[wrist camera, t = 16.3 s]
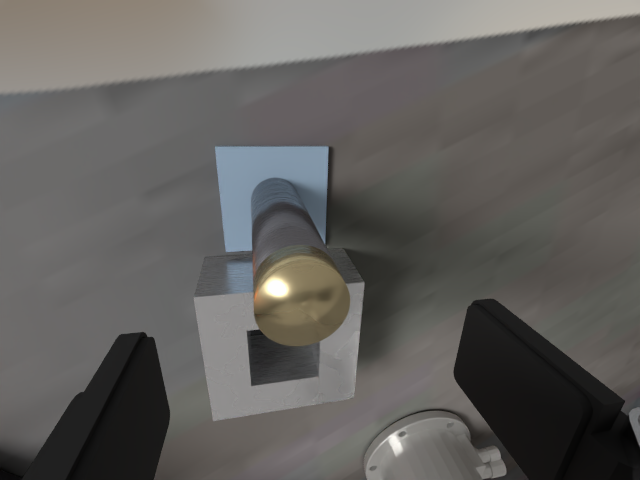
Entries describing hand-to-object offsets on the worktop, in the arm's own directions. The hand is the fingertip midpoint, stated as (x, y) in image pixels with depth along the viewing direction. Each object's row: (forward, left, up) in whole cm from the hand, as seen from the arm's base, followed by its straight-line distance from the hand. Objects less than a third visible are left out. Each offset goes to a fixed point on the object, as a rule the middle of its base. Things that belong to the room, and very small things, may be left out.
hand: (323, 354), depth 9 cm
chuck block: (0, +8, -14) cm, 16 cm away
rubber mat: (0, -1, -14) cm, 14 cm away
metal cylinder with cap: (0, -1, -14) cm, 13 cm away
